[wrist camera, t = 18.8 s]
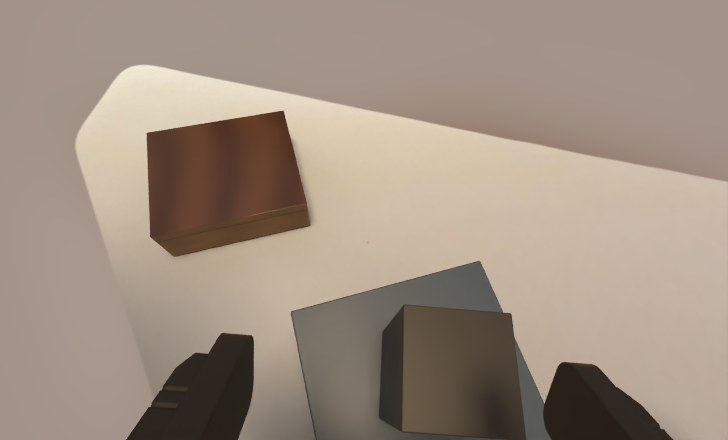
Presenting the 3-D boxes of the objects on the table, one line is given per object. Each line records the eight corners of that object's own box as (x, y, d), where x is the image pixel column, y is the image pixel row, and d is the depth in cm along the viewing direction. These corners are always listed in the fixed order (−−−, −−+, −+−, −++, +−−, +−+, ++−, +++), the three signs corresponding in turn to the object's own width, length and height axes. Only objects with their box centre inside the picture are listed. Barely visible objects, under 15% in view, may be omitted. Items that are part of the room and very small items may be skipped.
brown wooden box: (173, 256, 35) (150, 237, 31) (167, 161, 40) (146, 132, 36) (310, 225, 38) (306, 203, 34) (288, 139, 43) (283, 110, 38)
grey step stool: (335, 485, 28) (334, 536, 18) (303, 335, 33) (290, 311, 23) (490, 427, 31) (563, 445, 21) (440, 296, 36) (480, 260, 26)
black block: (461, 424, 21) (527, 441, 14) (378, 418, 21) (401, 432, 14) (457, 337, 23) (511, 313, 16) (382, 331, 23) (403, 303, 16)
